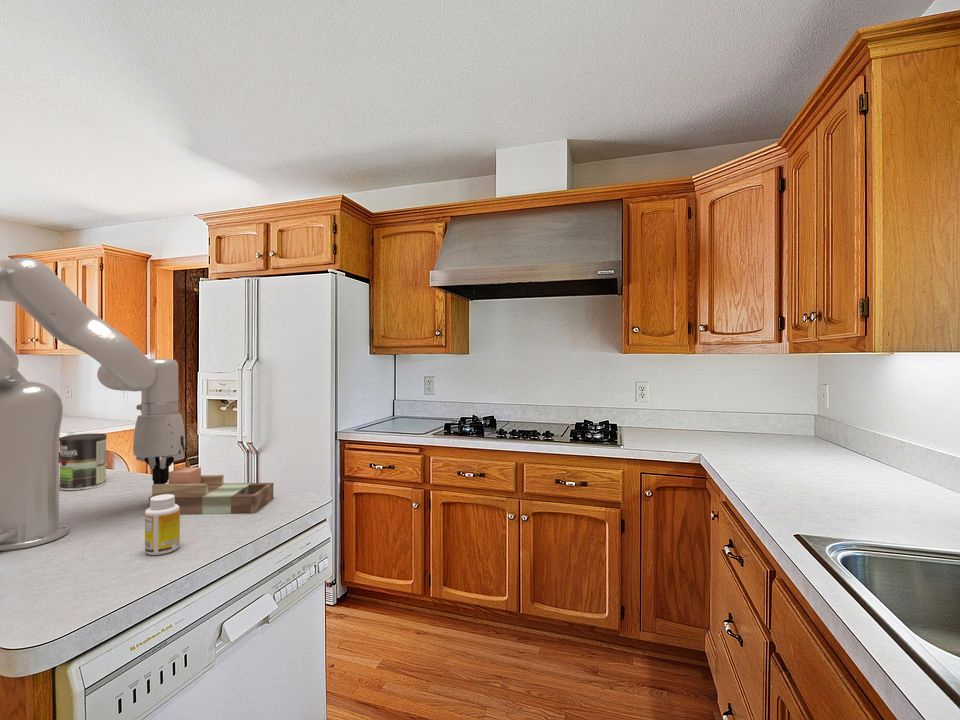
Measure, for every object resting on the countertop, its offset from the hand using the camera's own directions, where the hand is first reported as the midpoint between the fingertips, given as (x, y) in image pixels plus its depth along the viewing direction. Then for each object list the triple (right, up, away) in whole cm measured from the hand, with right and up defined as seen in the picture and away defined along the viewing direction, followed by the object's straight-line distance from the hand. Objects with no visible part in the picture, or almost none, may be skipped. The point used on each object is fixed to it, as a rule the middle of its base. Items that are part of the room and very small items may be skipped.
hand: (160, 483), depth 118 cm
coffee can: (-33, -5, +18) cm, 38 cm away
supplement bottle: (+18, -6, -26) cm, 32 cm away
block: (+6, -2, 0) cm, 6 cm away
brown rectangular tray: (+13, -6, +1) cm, 14 cm away
